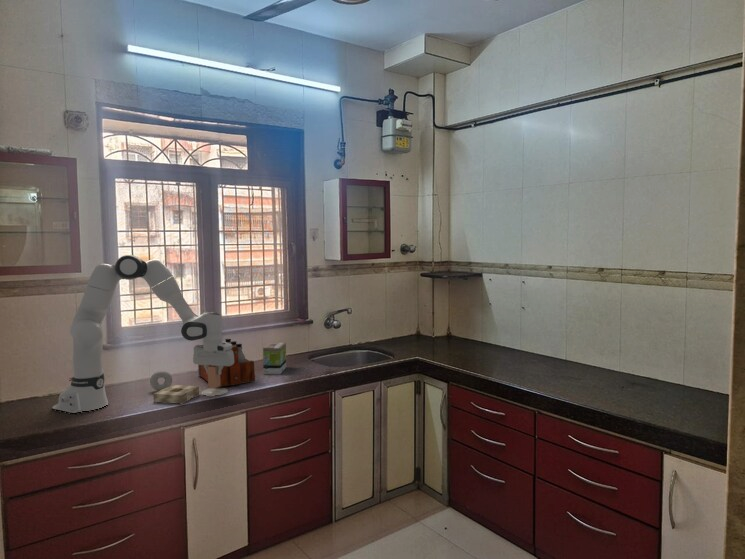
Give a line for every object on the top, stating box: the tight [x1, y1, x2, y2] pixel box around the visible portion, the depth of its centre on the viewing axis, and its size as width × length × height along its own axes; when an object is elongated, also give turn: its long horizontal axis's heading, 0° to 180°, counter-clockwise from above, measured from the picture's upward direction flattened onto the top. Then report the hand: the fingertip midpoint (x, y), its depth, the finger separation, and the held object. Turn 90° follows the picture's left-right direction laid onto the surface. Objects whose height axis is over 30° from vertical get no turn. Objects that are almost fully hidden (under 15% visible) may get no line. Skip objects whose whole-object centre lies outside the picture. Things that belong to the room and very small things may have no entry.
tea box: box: [262, 342, 287, 375], centre depth 278 cm, size 15×10×15 cm
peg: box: [207, 365, 222, 389], centre depth 239 cm, size 4×4×10 cm
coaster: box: [200, 387, 228, 397], centre depth 240 cm, size 12×12×1 cm
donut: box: [149, 369, 173, 392], centre depth 243 cm, size 10×4×10 cm, turn 108°
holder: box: [152, 384, 200, 405], centre depth 231 cm, size 14×14×4 cm
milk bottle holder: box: [197, 338, 256, 388], centre depth 262 cm, size 21×35×19 cm, turn 33°
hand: (214, 374), depth 239 cm, fingers closed on peg, 4 cm apart
